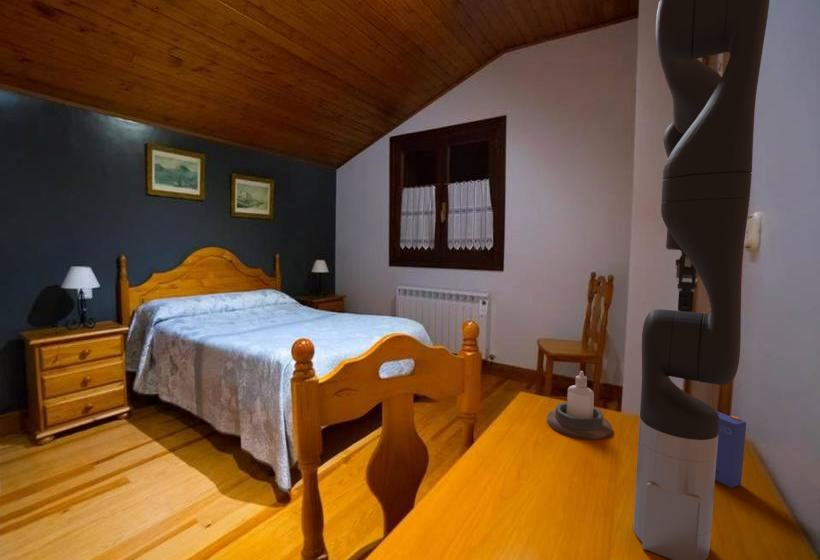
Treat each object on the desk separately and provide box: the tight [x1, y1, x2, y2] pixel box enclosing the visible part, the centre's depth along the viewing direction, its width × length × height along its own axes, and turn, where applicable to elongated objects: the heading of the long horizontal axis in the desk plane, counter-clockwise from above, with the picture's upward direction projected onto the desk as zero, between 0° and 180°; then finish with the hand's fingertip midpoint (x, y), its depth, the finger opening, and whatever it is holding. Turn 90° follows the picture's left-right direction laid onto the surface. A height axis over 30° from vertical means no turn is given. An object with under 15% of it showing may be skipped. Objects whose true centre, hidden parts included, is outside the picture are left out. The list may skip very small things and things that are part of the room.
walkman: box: [715, 410, 747, 489], centre depth 73 cm, size 8×3×12 cm, turn 20°
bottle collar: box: [546, 401, 613, 441], centre depth 93 cm, size 14×14×4 cm
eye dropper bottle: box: [566, 370, 595, 419], centre depth 93 cm, size 4×6×12 cm
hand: (684, 308), depth 78 cm, fingers open, 8 cm apart
